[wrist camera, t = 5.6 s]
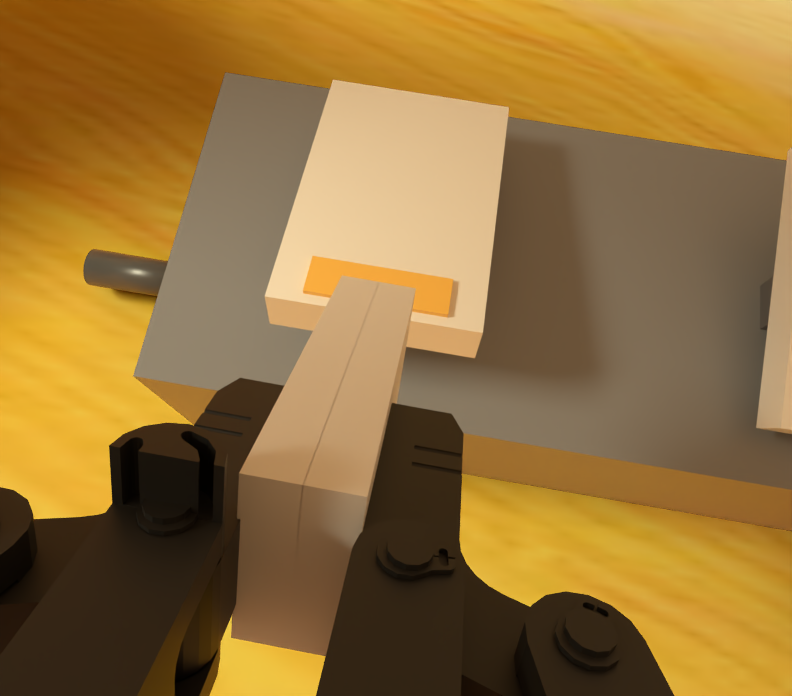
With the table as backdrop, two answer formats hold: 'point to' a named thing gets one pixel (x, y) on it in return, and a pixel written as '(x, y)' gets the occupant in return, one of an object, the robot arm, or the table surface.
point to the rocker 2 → (779, 327)
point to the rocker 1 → (396, 211)
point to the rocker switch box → (517, 307)
